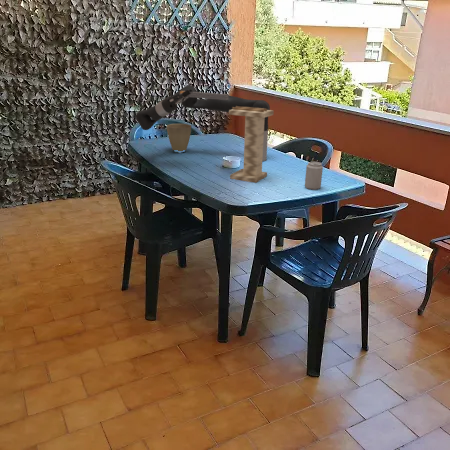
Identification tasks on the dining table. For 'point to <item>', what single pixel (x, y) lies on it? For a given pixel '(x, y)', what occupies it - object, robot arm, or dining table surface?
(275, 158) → the dining table surface
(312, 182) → the can
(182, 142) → the plant pot
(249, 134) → the stand
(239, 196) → the dining table surface
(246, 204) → the dining table surface
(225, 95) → the bar
